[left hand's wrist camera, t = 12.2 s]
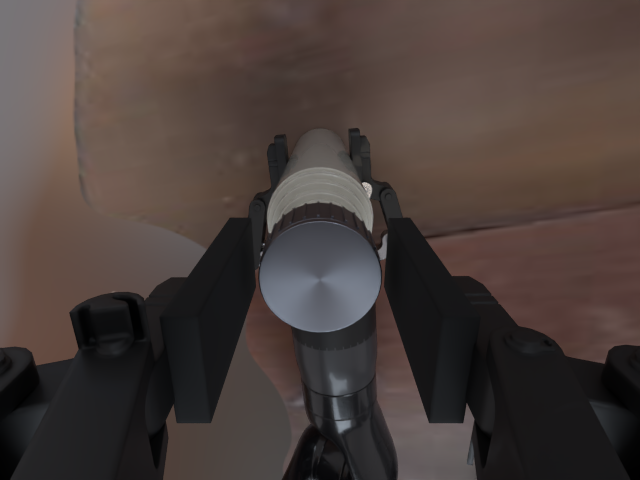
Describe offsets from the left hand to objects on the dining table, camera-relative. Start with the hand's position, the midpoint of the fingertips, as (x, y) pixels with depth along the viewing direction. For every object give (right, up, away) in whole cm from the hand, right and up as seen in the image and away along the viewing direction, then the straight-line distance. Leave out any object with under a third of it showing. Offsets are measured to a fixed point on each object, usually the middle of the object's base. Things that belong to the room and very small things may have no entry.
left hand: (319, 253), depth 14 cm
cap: (0, -1, -2) cm, 2 cm away
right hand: (0, +8, +15) cm, 17 cm away
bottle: (0, +8, +22) cm, 24 cm away
